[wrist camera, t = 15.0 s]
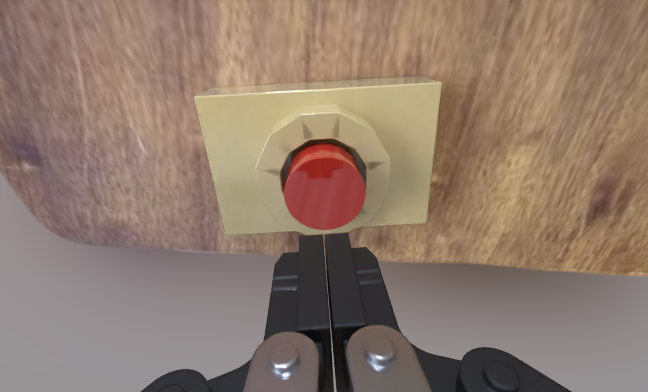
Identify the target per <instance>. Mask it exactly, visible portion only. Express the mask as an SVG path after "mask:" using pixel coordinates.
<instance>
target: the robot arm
mask: <svg viewBox="0 0 648 392" xmlns="http://www.w3.org/2000/svg"><path fill="white" fill-rule="evenodd" d="M325 249H326V266H327V282H328V294H327V283H326V270H325V257H324V244H323V234H317V235H303V236H300V237H299V252H293V253H283V254H282V256H281V257H280V258H279V260H278V261H277V262H276V264H275V268H274V275H273V282H272V288H271V289H272V292H271V295H270V303H269V309H268V316H267V323H266V330H265V336H264V341H263V343H261V344H260V345H259V347H258V348H257V349H256V351H255V353H254V354H253V357H252V359H251V360H249V361H248V362H247V363H246V364H244V365H243V366H241V367H239V368H238V369H236V370H233V371H231V372H228V373H226V374H223V375H221V376H218V377H216V378H213V379H210V380H208V381H207V380H206V378H205V377H204V376H203V375H202V374H201V373H199V372H197V371H194V370H189V369H181V370H176V371H173V372H170V373H167V374H165V375H163V376H161V377H160V378H158V379H156V380H155V381H154V382H152V383H151V384H150V385H149V386H147V387H146V388H145V389H144V390H143V391H141V392H334V384H333V368H332V351H331V333H330V319H331V331H332V343H333V354H334V366H335V378H336V389H337V392H571V391H569V390H568V389H566V388H565V387H563V386H561V385H560V384H558V383H557V382H555V381H553V380H552V379H550V378H548V377H547V376H545V375H544V374H542V373H540V372H539V371H537V370H536V369H534V368H532V367H531V366H529V365H527V364H526V363H524V362H523V361H521V360H519V359H517V358H516V357H514V356H513V355H511V354H509V353H506V352H504V351H502V350H498V349H494V348H487V347H482V348H476V349H473V350H471V351H469V352H467V353H466V354H465V355H464V357H463V359H462V360H461V361H460V360H455V359H451V358H447V357H442V356H438V355H434V354H430V353H427V352H425V351H423V350H421V349H419V348H417V347H416V346H414V345H413V344H411V343H410V342H409V341H408V339H407V338H406V337H405V336H404V335H403V334H402V333H401V331H400V329H399V327H398V324H397V321H396V318H395V315H394V311H393V308H392V305H391V302H390V299H389V296H388V293H387V289H386V286H385V283H384V280H383V277H382V274H381V272H380V268H379V265H378V261H377V258H376V257H375V256H374V255H373V254H372V253H371V252H370V251H369V250H368V249H367V248H366V247H362V248H351V245H350V240H349V235H348V232H345V233H330V234H325ZM328 295H329V306H330V319H329V307H328Z"/></svg>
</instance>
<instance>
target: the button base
mask: <svg viewBox="0 0 648 392" xmlns="http://www.w3.org/2000/svg"><path fill="white" fill-rule="evenodd" d="M441 87H442V83H441V82H439V81H436V80H433V79H430V78H427V77H424V76H405V77H388V78H370V79H353V80H336V81H319V82H302V83H285V84H268V85H250V86H233V87H216V88H212V89H210V90H208V91H206V92H203V93H201V94H199V95H197V96H195V97H194V99H195V104H196V108H197V112H198V117H199V121H200V125H201V130H202V134H203V138H204V143H205V147H206V151H207V156H208V160H209V164H210V169H211V173H212V177H213V182H214V186H215V190H216V195H217V199H218V203H219V208H220V212H221V217H222V221H223V225H224V230H225V234H226V235H242V234H259V233H275V232H291V231H297V232H299V233H302V234H304V235H317V234H323V236H325V234H330V233H345V232H349V231H351V230H353V229H355V228H357V227H372V226H388V225H404V224H421V223H426V221H427V212H428V203H429V194H430V185H431V176H432V167H433V158H434V149H435V140H436V132H437V123H438V114H439V105H440V96H441ZM316 143H332V144H336V145H338V146H341V147H343V148H344V149H346V150H347V151H348V152H349V153H350V154H351V155H352V156H353V157H354V158H355V160H356V162H357V164H358V167H359V169H360V172H361V175H362V178H363V180H364V183H365V188H366V197H365V202H364V205H363V207H362V209H361V211H360V212H359V214H358V215H357V216H356V217H355V218H354V219H353V220H352V221H351V222H349V223H348V224H346V225H344V226H342V227H339V228H336V229H331V230H317V229H312V228H309V227H307V226H305V225H303V224H301V223H300V222H298V221H297V220H296V219H295V218H294V217H293V216H292V215H291V213H290V212H289V210H288V208H287V206H286V203H285V199H284V188H285V183H286V178H287V172H288V168H289V165H290V163H291V161H292V159H293V158H294V157H295V155H296V154H297V153H298V152H299V151H301V150H302V149H304V148H305V147H307V146H310V145H312V144H316Z"/></svg>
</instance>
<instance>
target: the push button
mask: <svg viewBox="0 0 648 392" xmlns="http://www.w3.org/2000/svg"><path fill="white" fill-rule="evenodd" d="M365 197H366V188H365V183H364V180H363V178H362V175H361V172H360V169H359V167H358V164H357V162H356V160H355V158H354V157H353V156H352V155H351V154H350V153H349V152H348V151H347V150H346V149H344V148H343V147H341V146H338V145H336V144H332V143H316V144H312V145H310V146H307V147H305V148H304V149H302V150H301V151H299V152H298V153H297V154H296V155H295V157H294V158H293V159H292V161H291V163H290V165H289V168H288V172H287V178H286V183H285V188H284V199H285V203H286V206H287V208H288V210H289V212H290V213H291V215H292V216H293V217H294V218H295V219H296V220H297V221H298V222H300V223H301V224H303V225H305V226H307V227H309V228H312V229H317V230H331V229H336V228H339V227H342V226H344V225H346V224H348V223H349V222H351V221H352V220H353V219H354V218H355V217H356V216H357V215H358V214H359V212H360V211H361V209H362V207H363V205H364V202H365Z"/></svg>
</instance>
